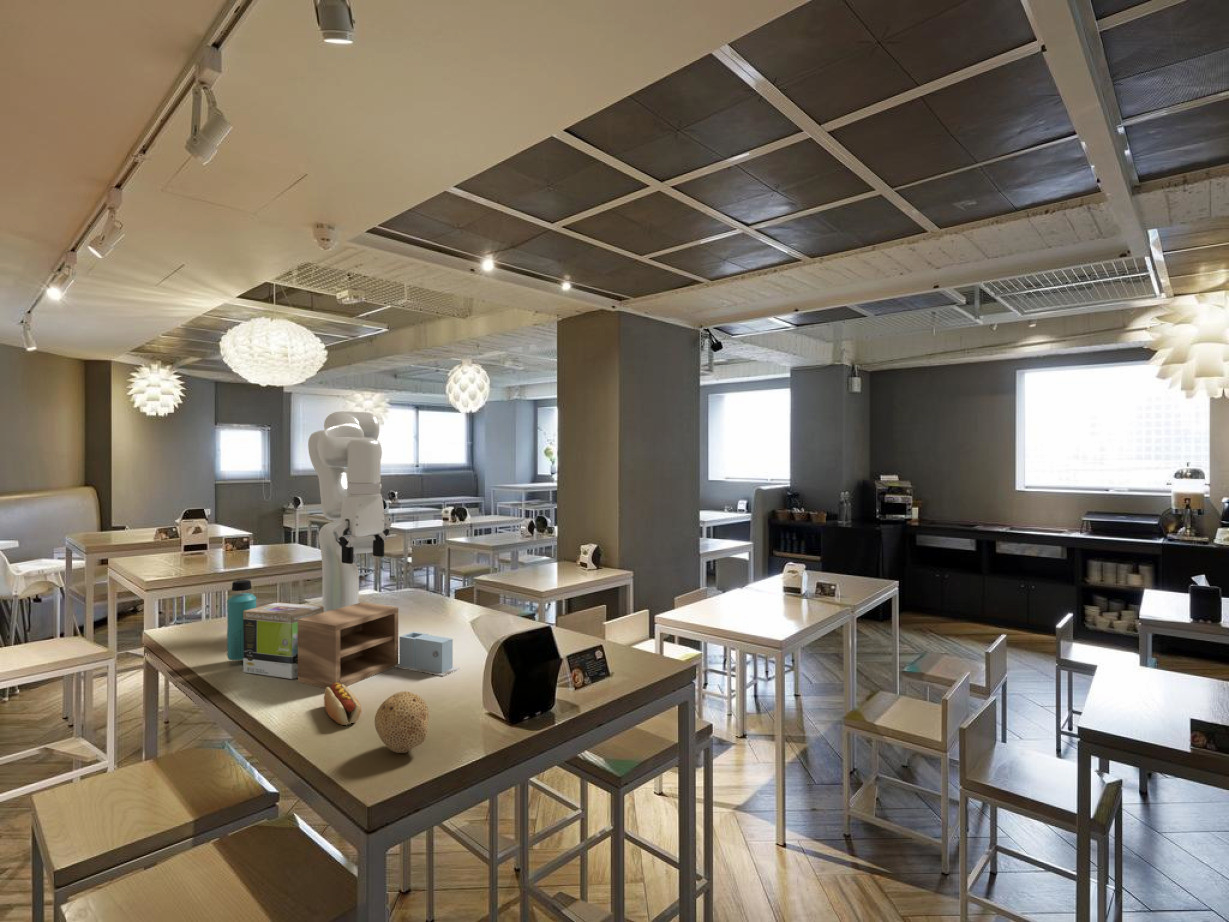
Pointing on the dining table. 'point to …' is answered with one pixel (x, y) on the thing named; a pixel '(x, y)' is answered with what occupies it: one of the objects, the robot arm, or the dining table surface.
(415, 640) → the blue box with dot
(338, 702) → the food
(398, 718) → the natural sponge
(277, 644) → the tea box
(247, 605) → the beverage bottle
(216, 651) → the dining table surface
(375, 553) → the robot arm
